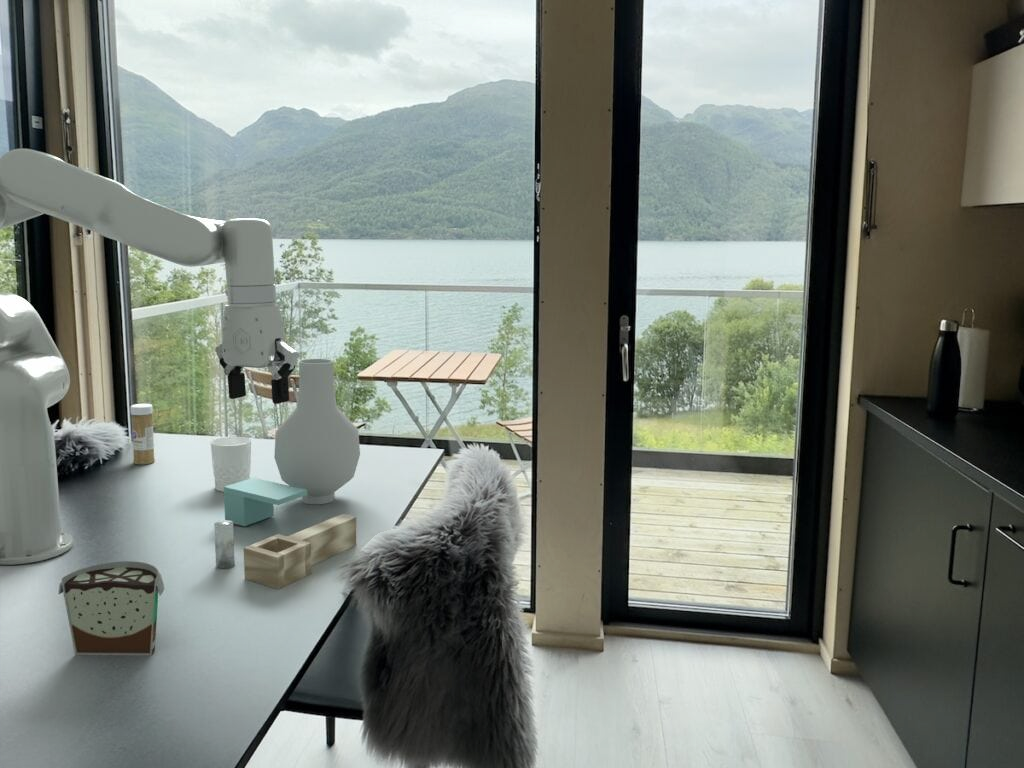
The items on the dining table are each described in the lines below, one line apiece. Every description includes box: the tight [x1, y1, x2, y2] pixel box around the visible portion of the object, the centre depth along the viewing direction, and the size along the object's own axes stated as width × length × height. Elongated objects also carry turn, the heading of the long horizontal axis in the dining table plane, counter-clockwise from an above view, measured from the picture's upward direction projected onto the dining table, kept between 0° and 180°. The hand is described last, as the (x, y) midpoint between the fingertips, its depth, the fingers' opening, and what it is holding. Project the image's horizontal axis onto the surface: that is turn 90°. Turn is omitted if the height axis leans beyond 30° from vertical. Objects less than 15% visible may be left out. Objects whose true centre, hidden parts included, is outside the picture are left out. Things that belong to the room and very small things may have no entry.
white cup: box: [210, 436, 252, 493], centre depth 166 cm, size 8×8×10 cm
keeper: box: [223, 477, 307, 527], centre depth 146 cm, size 7×14×6 cm, turn 61°
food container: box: [58, 560, 165, 656], centre depth 102 cm, size 12×6×10 cm, turn 92°
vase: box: [274, 358, 361, 505], centre depth 159 cm, size 17×16×28 cm
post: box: [213, 519, 236, 570], centre depth 127 cm, size 3×3×7 cm
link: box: [243, 513, 357, 590], centre depth 129 cm, size 20×7×5 cm, turn 151°
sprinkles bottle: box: [129, 403, 156, 466], centre depth 183 cm, size 5×5×14 cm
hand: (259, 399), depth 133 cm, fingers open, 9 cm apart
